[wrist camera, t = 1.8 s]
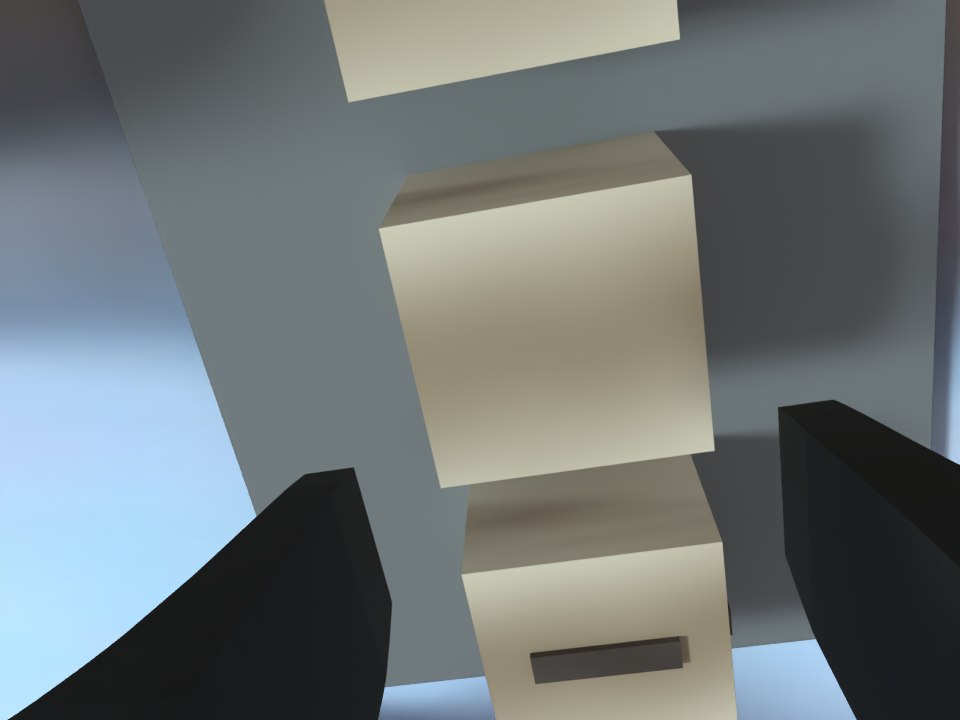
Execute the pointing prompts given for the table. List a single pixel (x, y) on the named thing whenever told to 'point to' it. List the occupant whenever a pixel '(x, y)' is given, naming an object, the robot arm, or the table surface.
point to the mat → (517, 131)
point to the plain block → (553, 309)
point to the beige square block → (600, 594)
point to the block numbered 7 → (481, 37)
